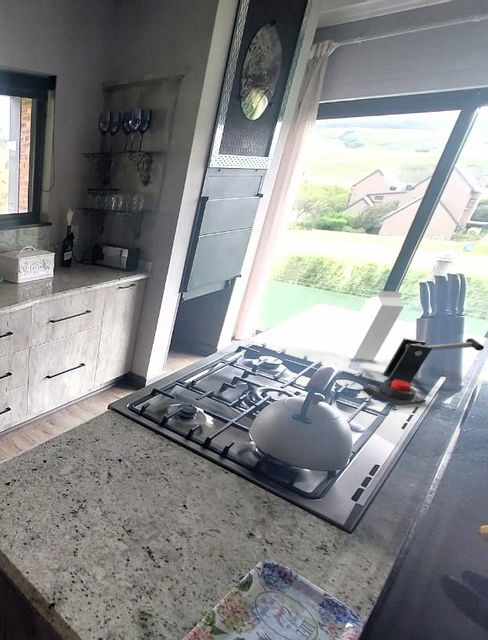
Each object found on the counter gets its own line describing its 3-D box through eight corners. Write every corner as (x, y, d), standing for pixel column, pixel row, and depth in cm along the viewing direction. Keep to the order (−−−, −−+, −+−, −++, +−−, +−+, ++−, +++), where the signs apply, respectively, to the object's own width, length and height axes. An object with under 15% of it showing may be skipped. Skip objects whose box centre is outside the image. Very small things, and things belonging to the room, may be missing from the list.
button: (396, 384, 106) (400, 379, 105) (411, 391, 103) (414, 385, 102) (386, 385, 105) (390, 380, 104) (400, 392, 102) (404, 386, 101)
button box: (388, 391, 110) (396, 378, 108) (421, 407, 103) (430, 394, 101) (362, 393, 108) (370, 381, 106) (394, 410, 102) (403, 397, 100)
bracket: (411, 382, 115) (437, 341, 109) (424, 396, 108) (452, 354, 102) (364, 372, 119) (386, 333, 113) (373, 386, 112) (397, 344, 106)
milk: (371, 364, 125) (411, 296, 114) (350, 362, 125) (387, 294, 114) (358, 355, 130) (394, 289, 119) (338, 354, 131) (372, 287, 120)
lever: (473, 344, 105) (474, 336, 104) (483, 352, 101) (484, 343, 100) (403, 350, 112) (403, 342, 111) (410, 357, 108) (410, 349, 107)
